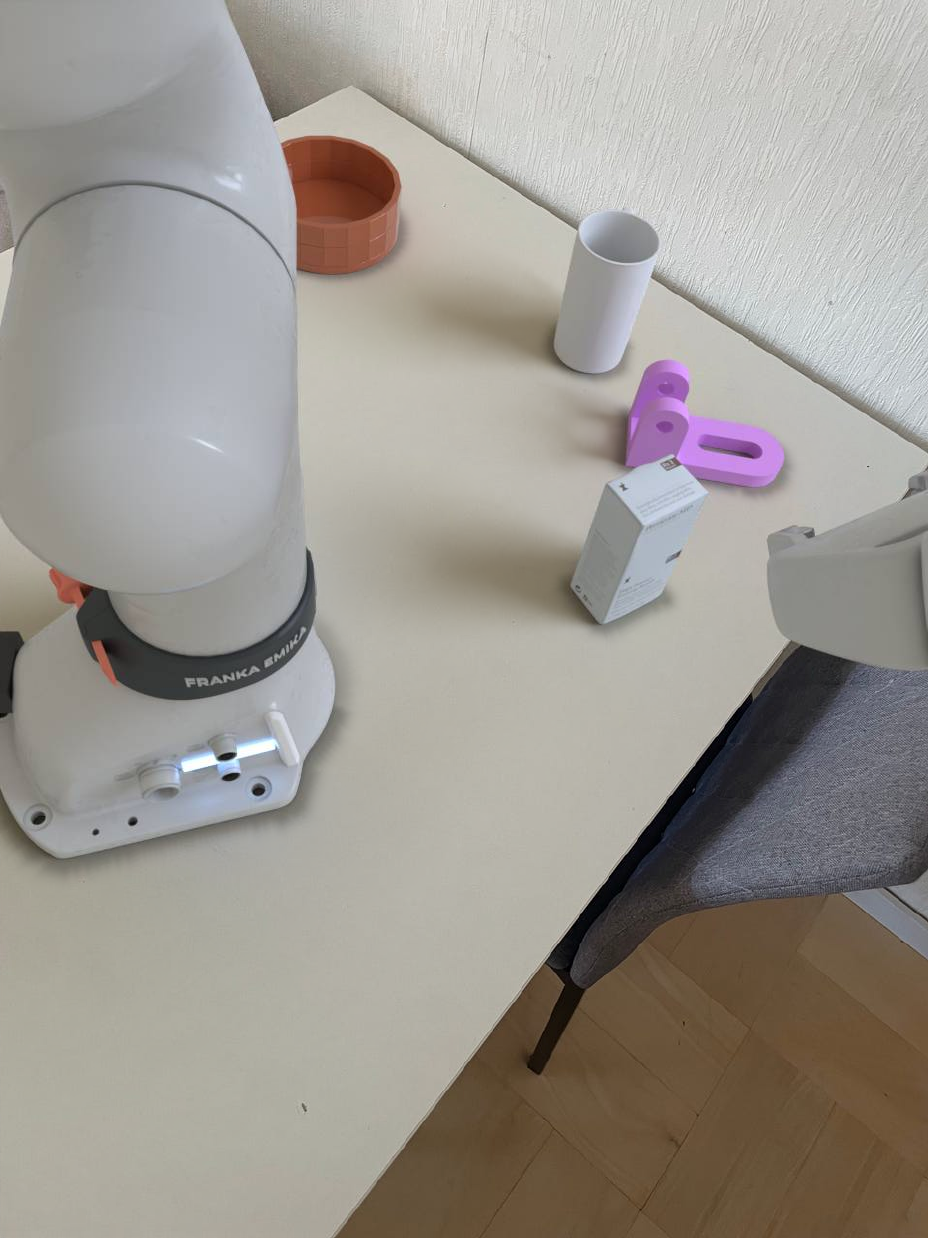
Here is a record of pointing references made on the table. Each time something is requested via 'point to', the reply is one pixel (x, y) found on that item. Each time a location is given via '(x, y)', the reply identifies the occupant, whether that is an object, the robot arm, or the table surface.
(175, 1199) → the table surface
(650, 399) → the bracket
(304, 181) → the bowl
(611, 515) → the cosmetic box
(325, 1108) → the table surface
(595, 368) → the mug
